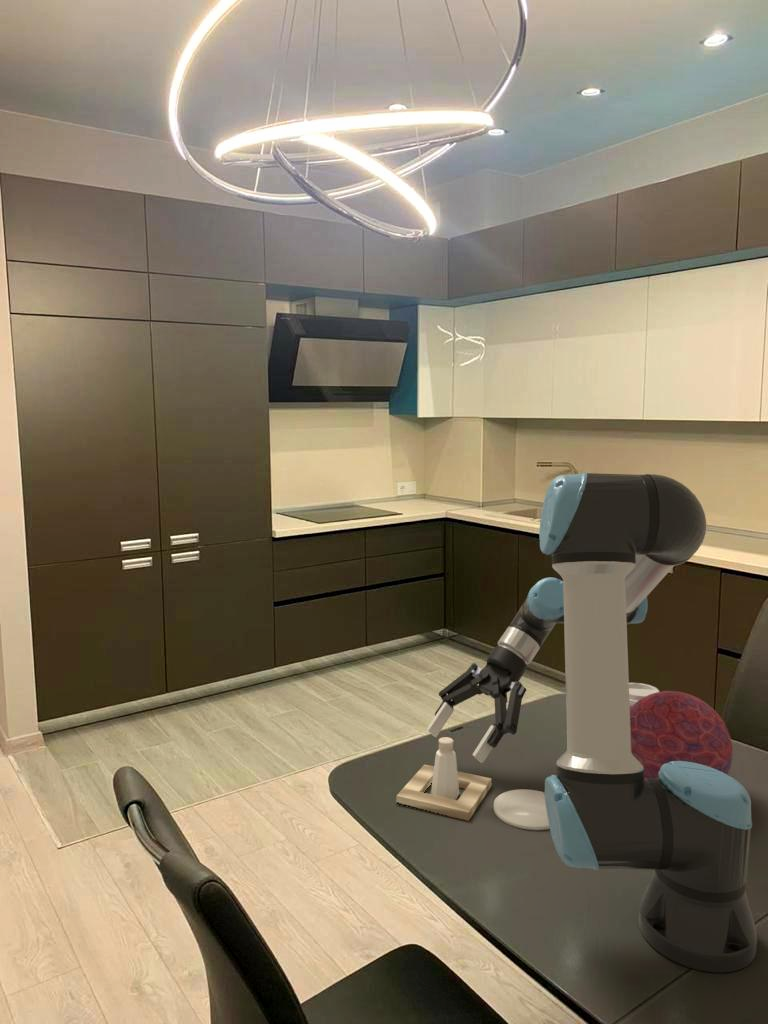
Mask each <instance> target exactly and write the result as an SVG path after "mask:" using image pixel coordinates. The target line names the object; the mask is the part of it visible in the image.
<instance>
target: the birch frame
mask: <svg viewBox="0 0 768 1024" xmlns="http://www.w3.org/2000/svg"><path fill="white" fill-rule="evenodd" d="M433 772H434V765H429V764H423V765H422V766H421V768H420V769H418V771H417V772H416V773H415V774H414V776H413V777H412V778H411V779H409V781H408V782H407V783H406V784H405V786H403V788H402V789H401V790H400V791H399V792H398V793H397V795H396V801H395V802H399V803H402V804H406V805H410V806H413V807H417V808H420V809H424V810H423V811H425V810H428V811H427V812H429V811H431V812H430V813H433V812H434V814H437V813H439V814H438V815H442V814H443V815H442V816H446V815H447V817H451V818H455V819H459V820H463V821H467V822H468V821H470V819H471V818H472V816H473V815H474V814H475V812H476V810H477V809H478V807H480V804H481V803H482V801H483V800H484V798H485V797H486V795H487V794H488V792H489V791H490V789H491V788H492V784H493V783H492V778H491V777H486V776H481V775H477V774H472V773H468V772H463V771H458V770H457V773H458V785H459V789H464V791H463V792H462V793H461V795H460V796H459V798H457V799H456V800H454V799H450V798H445V797H441V796H436V795H432V794H431V793H428V792H425V790H426V789H427V788H428V787H429V786H430V785H431V786H432V784H431V783H432V780H433ZM431 786H430V787H431ZM430 787H429V788H430ZM429 788H428V789H429ZM428 789H427V790H428ZM427 790H426V791H427ZM424 792H425V793H424ZM420 809H419V810H420Z"/></svg>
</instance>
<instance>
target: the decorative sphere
mask: <svg viewBox="0 0 768 1024" xmlns="http://www.w3.org/2000/svg"><path fill="white" fill-rule="evenodd" d="M630 728H631V752H632V754H633V756H634V757H635V758H636V759H637V760H638V761H639V762H640V763H641V764H642V765H643V767H644V778H659V775H658V772H659V771H660V769H661V767H662V765H664V764H666V763H667V764H668V763H669V762H671V761H685V762H692V763H697V764H701V765H705V766H708V767H711V768H714V769H716V770H718V771H721V772H723V773H725V774H727V775H729V772H730V770H731V767H732V762H733V751H734V750H733V742H732V737H731V735H730V731H729V729H728V727H727V725H726V722H724V720H723V719H722V717H721V716H720V715H719V714H718V712H717V711H716V710H715V709H714V708H713V707H712V706H711V705H709V704H708V703H706V701H704V700H702V699H700V698H699V697H696V696H694V695H692V694H689V693H686V692H683V691H677V690H676V691H675V690H663V691H659V692H657V693H653V694H650V695H648V696H646V697H644V698H642V699H640V700H639V701H638V702H636V703H635V704H634V705H633V706H632V707H631V708H630Z"/></svg>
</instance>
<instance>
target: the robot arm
mask: <svg viewBox="0 0 768 1024" xmlns="http://www.w3.org/2000/svg"><path fill="white" fill-rule="evenodd" d="M545 492H546V493H545V496H544V499H543V503H542V509H541V515H540V522H539V533H538V535H539V536H538V537H539V548H540V551H541V553H542V554H545V555H547V556H551V567H552V568H553V570H554V571H555V572H556V573H558V575H559V576H560V577H561V579H562V580H561V579H558V578H556V577H545V578H542V579H541V580H538V581H536V583H535V584H534V585H533V586H532V587H531V588H530V589H529V592H528V594H527V596H526V599H525V600H524V601H523V603H522V604H521V606H520V608H519V610H518V611H517V613H516V614H515V616H514V617H513V619H512V621H511V622H510V624H509V625H508V627H507V628H506V629H505V631H504V632H503V634H502V635H501V636H500V638H499V640H498V641H497V645H495V646H494V647H493V649H492V650H491V651H490V653H489V655H488V657H487V658H486V665H485V666H484V667H483V668H480V666H478V664H477V663H474V662H473V663H472V664H471V665H470V666H469V667H468V668H467V670H466V671H465V672H463V673H461V675H460V676H458V677H457V678H456V679H454V680H453V681H452V682H451V683H449V684H448V685H446V686H445V687H444V688H443V689H442V690H440V691H439V692H438V696H439V697H440V698H441V700H442V702H441V703H440V705H439V706H438V708H436V709H437V710H436V711H435V713H434V716H433V718H432V720H431V722H430V723H429V725H428V726H427V728H426V731H428V732H429V734H430V735H432V736H433V737H434V738H437V737H438V736H439V733H440V732H441V731H442V729H443V728H444V726H445V725H446V723H447V722H448V720H449V719H450V717H451V715H452V714H453V713H454V711H455V709H454V707H455V706H457V705H459V704H461V703H463V702H465V701H467V700H469V699H471V698H473V697H474V696H477V695H483V694H484V695H485V696H490V698H492V699H494V713H495V714H494V715H495V716H494V718H495V719H494V720H495V722H494V723H493V725H492V724H491V725H490V726H489V728H488V729H487V731H486V733H485V734H484V735H483V737H482V739H481V740H480V742H479V743H478V745H477V747H476V748H475V750H474V752H473V753H472V756H473V757H474V758H475V759H476V760H477V761H478V762H479V763H481V764H484V762H485V760H486V759H487V758H488V756H489V754H490V753H491V751H492V749H493V748H494V749H495V748H497V746H498V745H499V744H500V741H501V739H502V738H503V737H504V735H506V734H511V735H516V733H517V730H518V724H519V719H520V714H521V713H520V712H521V708H522V701H523V698H524V697H525V695H526V692H527V688H526V687H525V686H524V685H523V683H522V682H521V681H520V680H521V678H522V677H523V675H524V674H525V672H526V671H527V669H528V666H527V665H530V664H531V663H532V661H533V659H534V658H535V656H536V655H537V654H538V652H539V650H540V649H541V647H542V645H543V644H544V642H545V641H546V639H547V638H548V636H549V634H550V633H551V632H552V630H553V628H554V627H555V626H556V625H557V624H563V626H564V630H563V631H564V633H563V635H564V665H565V666H564V670H565V671H564V672H565V673H564V674H565V709H566V710H565V711H566V747H567V748H566V751H565V752H564V753H563V754H562V755H561V756H560V757H559V758H558V759H557V760H556V774H551V775H550V776H547V777H546V778H545V780H544V793H545V804H546V811H547V817H548V822H549V827H550V829H549V830H550V835H551V840H552V842H553V845H554V848H555V851H556V853H557V855H558V857H559V859H560V860H561V861H562V862H563V864H565V865H567V866H568V867H571V868H581V869H591V870H594V871H599V870H654V872H653V874H652V876H651V877H650V881H649V882H648V885H647V887H646V889H645V891H644V893H643V896H642V897H641V901H640V903H639V908H638V909H639V910H638V912H639V913H638V926H639V927H638V928H639V930H640V933H641V934H642V936H643V937H644V939H645V940H646V942H647V943H648V944H649V945H650V946H651V947H652V948H653V949H654V950H656V951H657V952H658V953H659V954H661V955H662V956H664V957H665V958H667V959H669V960H672V961H673V962H675V963H677V964H679V965H682V966H683V967H687V968H690V969H693V970H697V971H702V972H708V973H730V972H736V971H739V970H741V969H744V968H746V967H748V966H749V965H750V964H752V962H753V961H754V960H755V957H756V954H757V945H758V935H757V934H758V932H757V928H756V924H755V922H754V921H755V920H754V917H753V914H752V910H751V906H750V903H749V900H748V895H747V878H748V865H749V857H750V856H749V855H750V854H749V853H750V842H751V841H750V840H751V831H752V830H751V829H752V827H753V820H752V800H751V797H750V796H751V795H750V794H749V793H748V791H747V789H746V788H745V787H744V786H743V785H742V783H740V782H739V781H737V779H735V778H734V777H732V776H730V775H729V774H728V775H727V774H725V773H723V772H721V771H718V770H716V769H714V768H711V767H708V766H705V765H701V764H697V763H692V762H685V761H671V762H669V763H668V764H667V763H666V764H664V765H662V767H661V769H660V771H659V772H658V775H659V778H644V767H643V765H642V764H641V763H640V762H639V761H638V760H637V759H636V758H635V757H634V756H633V754H632V752H631V728H630V702H629V683H630V680H629V676H630V675H629V654H628V653H629V651H628V650H629V649H628V629H627V628H628V627H627V625H631V624H632V625H633V624H634V625H635V624H641V623H643V621H645V619H646V617H647V616H646V615H647V613H648V606H649V605H648V604H649V603H648V602H649V601H648V596H649V595H650V594H651V592H653V590H654V589H655V588H656V587H657V586H658V585H659V583H660V582H662V580H663V579H664V578H665V576H667V574H668V573H669V572H670V571H671V570H672V569H673V567H675V566H678V565H682V564H685V563H686V562H688V561H689V560H690V559H691V558H692V557H693V556H694V555H695V554H696V553H697V551H699V549H700V547H701V546H702V544H703V542H704V539H705V536H706V533H707V518H706V514H705V513H706V512H705V511H704V508H703V506H702V504H701V502H700V500H699V499H698V497H697V496H696V495H695V494H694V493H693V491H692V490H690V489H689V488H688V487H687V486H686V485H685V484H683V483H682V482H680V481H678V480H676V479H674V478H672V477H669V476H666V475H662V474H661V475H660V474H656V473H655V474H654V473H653V474H651V473H645V474H632V473H631V474H630V473H628V474H625V473H595V472H593V473H590V472H589V473H587V472H581V473H574V474H561V475H558V476H556V477H555V478H553V479H552V480H551V482H550V483H549V485H548V487H547V490H546V491H545ZM509 692H510V693H509ZM508 693H509V698H508ZM507 703H508V704H507Z"/></svg>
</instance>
